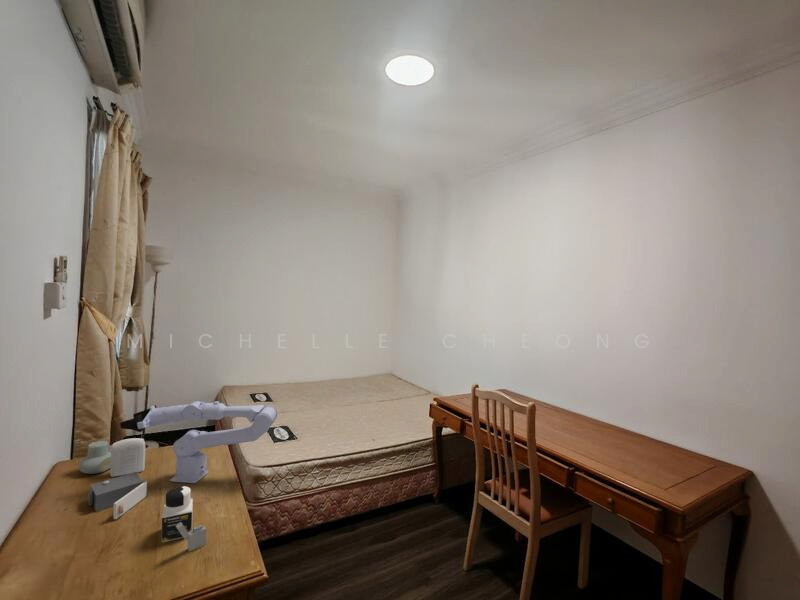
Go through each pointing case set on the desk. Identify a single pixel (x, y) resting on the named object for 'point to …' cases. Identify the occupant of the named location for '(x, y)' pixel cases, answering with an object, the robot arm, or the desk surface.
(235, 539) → the desk surface
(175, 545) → the desk surface
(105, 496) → the camera case
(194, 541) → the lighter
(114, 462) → the photo printer
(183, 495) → the medicine bottle
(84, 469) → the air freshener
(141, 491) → the side door
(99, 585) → the desk surface
